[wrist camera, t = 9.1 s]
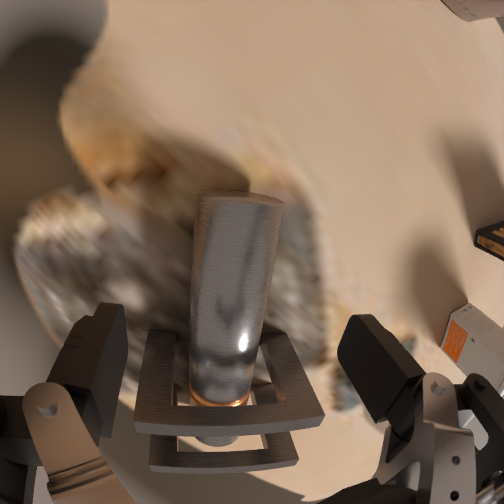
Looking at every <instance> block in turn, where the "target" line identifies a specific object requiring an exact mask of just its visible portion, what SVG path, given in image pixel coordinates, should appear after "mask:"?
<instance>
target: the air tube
mask: <svg viewBox="0 0 504 504" xmlns="http://www.w3.org/2000/svg"><path fill="white" fill-rule="evenodd" d="M283 209H284V202H283V201H281V200H279V199H276V198H273V197H270V196H266V195H261V194H256V193H250V192H243V191H235V190H202V191H199V192H197V200H196V211H195V223H194V236H193V251H192V268H191V289H190V318H189V399H190V406H246V405H247V401H248V398H249V393H250V389H251V382H252V377H253V372H254V367H255V362H256V357H257V352H258V347H259V342H260V337H261V332H262V327H263V321H264V316H265V311H266V306H267V300H268V295H269V289H270V284H271V278H272V273H273V267H274V262H275V256H276V250H277V244H278V238H279V233H280V227H281V221H282V215H283ZM238 437H239V436H221V437H195V438H196V439H197V440H199V441H200V442H202V443H204V444H206V445H209V446H214V447H221V446H226V445H229V444H231V443H233V442H234V441H236V440H237V438H238Z"/></svg>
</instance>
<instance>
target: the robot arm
mask: <svg viewBox="0 0 504 504" xmlns="http://www.w3.org/2000/svg"><path fill="white" fill-rule="evenodd" d="M442 1H443V2H444V3H445V4H446V5H447V6H448V7H449V8H450V9H451V10H452V11H453V12H454V13H455V14H457V15H458V16H459V17H461V18H462V19H464V20H466V21H475V20H480V19H486V18H492V17H500V16H504V0H442ZM127 355H128V340H127V332H126V323H125V314H124V307H123V305H121V304H113V303H104V302H100V304H99V305H98V307H97V309H96V311H95V313H94V315H93V316H87V315H85V316H84V317H83V318H81V319H80V320H79V321H77V322H76V323H75V324H74V326H73V328H72V329H71V331H70V333H69V337H67V339H66V341H65V343H64V346H63V347H62V349H61V351H60V353H59V355H58V357H57V359H56V361H55V363H54V365H53V367H52V370H51V372H50V374H49V377H48V378H47V380H46V382H42V383H38V384H36V385H34V386H32V387H31V388H30V389H28V391H27V392H26V393H25V395H24V396H2V395H0V504H32V502H33V492H34V484H35V476H36V470H37V466H44V469H45V471H46V473H47V475H48V478H49V482H48V483H47V489H48V491H49V494H50V496H51V498H52V500H53V502H54V504H137V503H136V502H135V500H134V499H133V498H132V497H131V495H130V494H129V493H128V491H127V490H126V489H125V488H124V486H123V485H122V484H121V482H120V481H119V479H118V478H117V477H116V475H115V474H114V472H113V471H112V469H111V468H110V466H109V465H108V463H107V462H106V460H105V459H104V457H103V456H102V454H101V452H100V451H99V449H98V444H99V439H100V436H102V437H108V438H111V434H112V428H113V423H114V417H115V412H116V406H117V401H118V396H119V392H120V387H121V382H122V378H123V373H124V369H125V365H126V361H127ZM337 356H338V360H339V362H340V364H341V366H342V367H343V369H344V371H345V372H346V374H347V376H348V377H349V379H350V381H351V383H352V384H353V386H354V388H355V389H356V391H357V393H358V394H359V396H360V398H361V400H362V401H363V403H364V405H365V406H366V408H367V410H368V412H369V413H370V415H371V417H372V419H373V420H374V422H375V424H377V423H380V422H383V421H386V420H388V421H389V422H390V423H389V425H388V426H387V427H386V430H385V436H384V441H383V446H382V451H381V456H380V461H379V465H378V468H377V471H376V472H375V474H374V475H373V477H372V478H371V479H370V480H368V481H365V482H362V483H359V484H357V485H354V486H351V487H348V488H345V489H342V490H341V491H339V492H337V493H336V494H334V495H332V496H330V497H328V498H327V499H325V500H323V501H321V502H319V503H317V504H504V399H503V398H502V397H501V396H500V394H499V393H498V392H497V391H496V390H495V388H494V387H493V386H492V385H491V384H490V382H489V381H488V380H487V379H486V378H485V377H483V376H482V375H480V374H477V373H471V374H469V375H468V377H467V378H466V379H465V381H464V382H463V384H452V382H451V381H450V380H449V379H448V378H447V377H445V376H444V375H441V374H439V373H434V372H431V373H427V374H426V372H425V371H424V370H423V369H422V368H421V366H420V365H419V364H418V363H417V362H416V360H415V359H414V358H413V357H412V356H411V355H410V353H409V352H408V351H407V350H405V348H404V346H403V345H402V344H401V343H399V341H398V340H397V338H396V337H395V336H394V335H393V334H392V333H391V332H389V331H388V330H387V329H385V328H384V327H383V326H382V325H381V324H380V323H379V321H378V320H377V319H376V318H375V317H374V316H373V315H371V314H359V315H352V316H351V317H350V319H349V321H348V324H347V326H346V329H345V331H344V334H343V336H342V338H341V341H340V343H339V346H338V350H337ZM474 416H476V417H477V419H478V420H479V422H480V423H481V424H482V426H483V427H484V429H485V430H486V432H487V433H488V436H489V439H488V443H487V444H486V445H485V447H484V448H482V449H481V450H478V449H477V448H476V446H475V445H474V436H473V432H472V431H471V430H469V429H464V427H465V426H466V424H467V423H468V422H469V421H470V420H471V419H472V418H473V417H474ZM499 471H502V472H500V473H499Z"/></svg>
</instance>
